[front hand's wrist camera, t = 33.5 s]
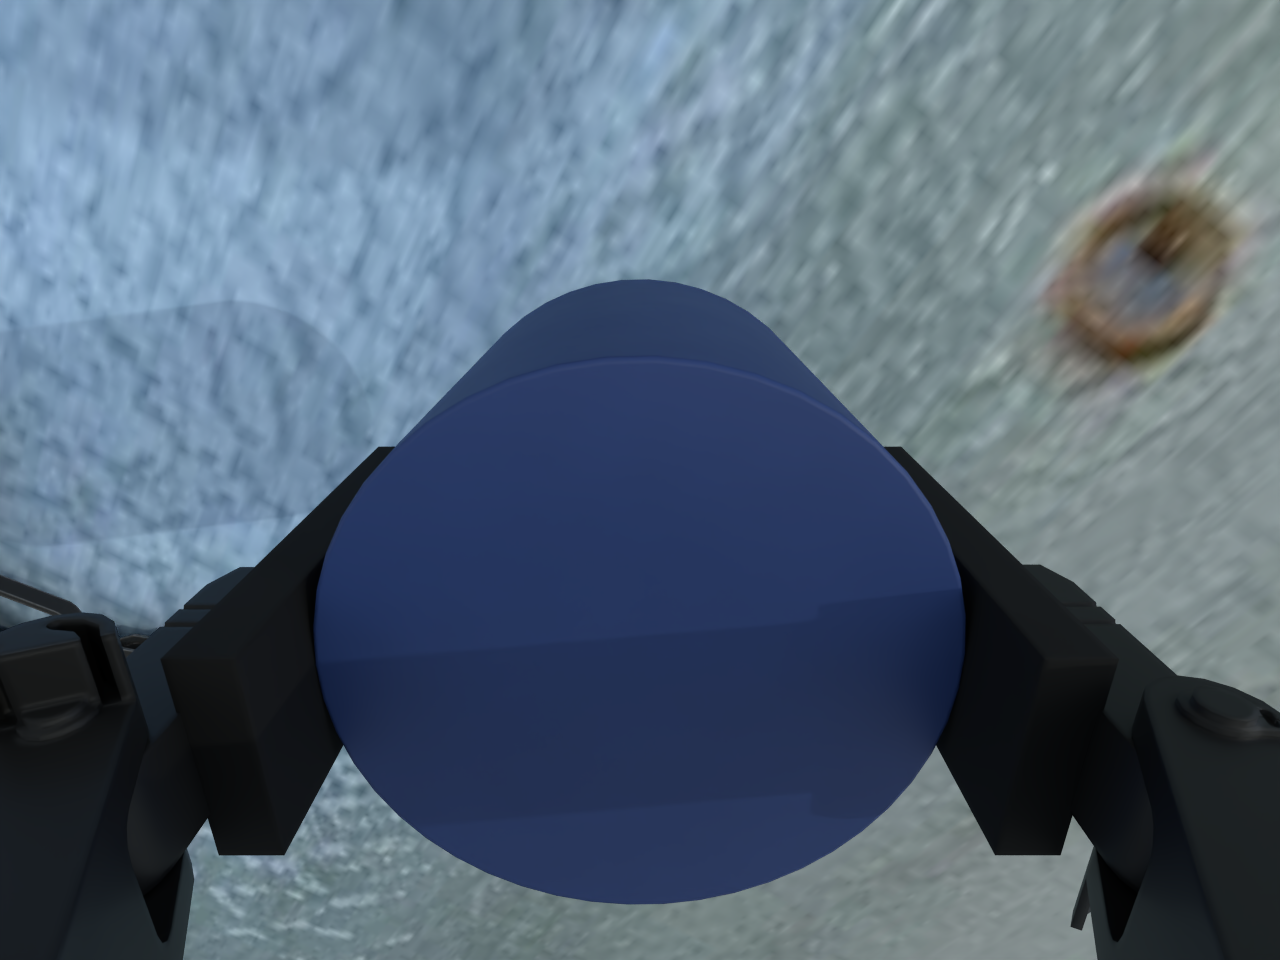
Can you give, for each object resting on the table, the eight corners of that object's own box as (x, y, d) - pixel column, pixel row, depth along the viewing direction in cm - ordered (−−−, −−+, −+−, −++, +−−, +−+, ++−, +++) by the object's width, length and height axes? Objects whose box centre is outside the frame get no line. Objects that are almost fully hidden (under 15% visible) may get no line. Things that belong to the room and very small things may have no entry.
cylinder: (887, 349, 15) (1096, 482, 8) (747, 663, 18) (813, 955, 11) (502, 223, 14) (372, 252, 7) (421, 576, 17) (273, 834, 10)
